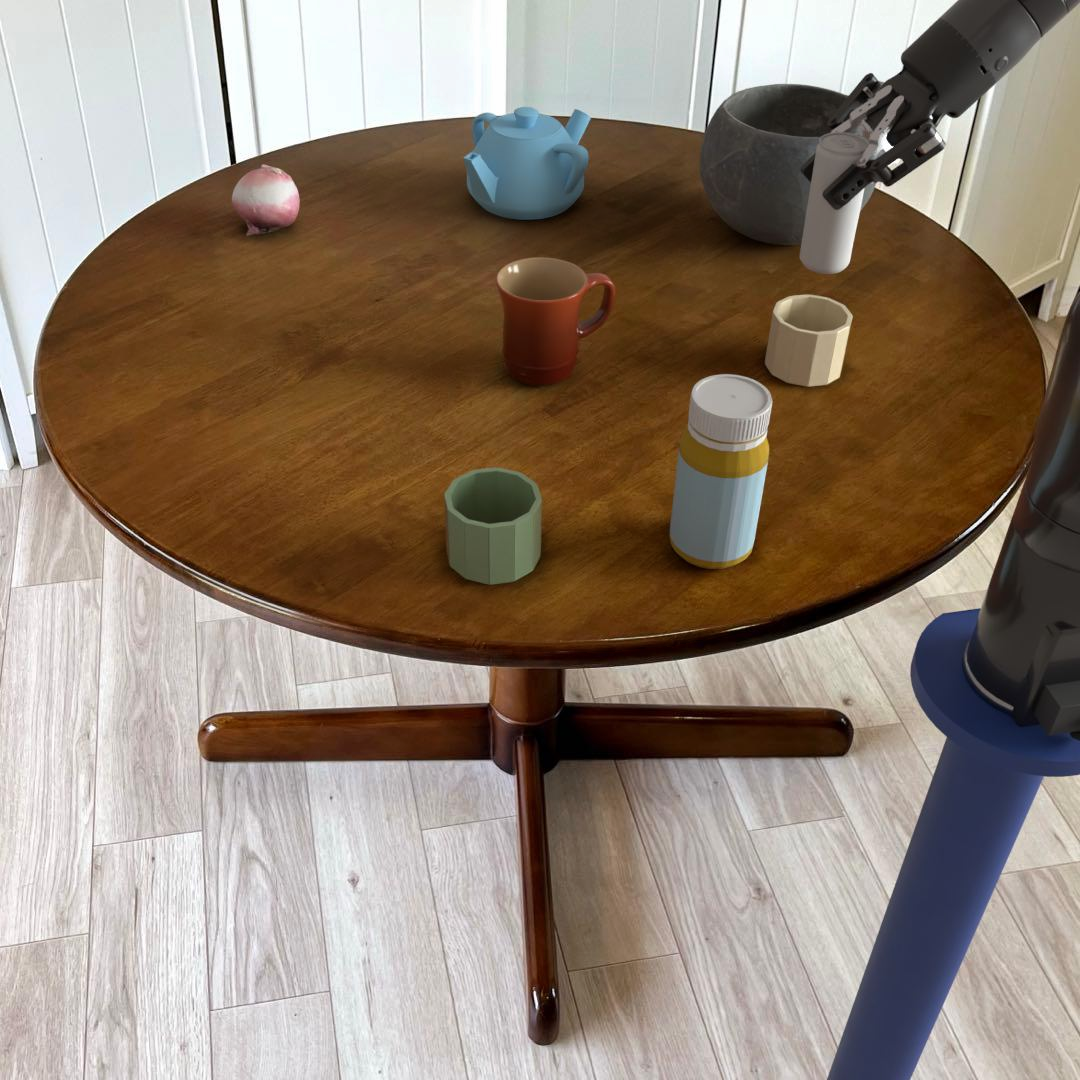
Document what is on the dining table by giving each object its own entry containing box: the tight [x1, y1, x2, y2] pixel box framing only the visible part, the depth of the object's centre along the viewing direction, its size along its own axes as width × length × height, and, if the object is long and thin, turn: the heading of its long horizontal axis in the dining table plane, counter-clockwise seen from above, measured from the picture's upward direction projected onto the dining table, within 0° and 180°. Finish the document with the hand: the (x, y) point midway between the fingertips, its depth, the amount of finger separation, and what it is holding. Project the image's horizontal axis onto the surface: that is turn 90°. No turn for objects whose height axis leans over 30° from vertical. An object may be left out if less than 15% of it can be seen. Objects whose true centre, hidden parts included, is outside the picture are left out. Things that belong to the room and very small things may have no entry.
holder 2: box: [764, 293, 854, 388], centre depth 123 cm, size 8×8×6 cm
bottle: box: [669, 373, 773, 570], centre depth 99 cm, size 7×7×15 cm
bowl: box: [699, 83, 881, 246], centre depth 143 cm, size 20×20×15 cm
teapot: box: [462, 106, 592, 221], centre depth 150 cm, size 15×17×11 cm
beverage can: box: [799, 132, 869, 275], centre depth 114 cm, size 5×5×12 cm
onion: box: [231, 163, 301, 237], centre depth 144 cm, size 8×8×7 cm
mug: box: [495, 256, 616, 387], centre depth 121 cm, size 12×9×10 cm
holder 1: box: [443, 466, 543, 586], centre depth 100 cm, size 8×8×6 cm
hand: (818, 189), depth 113 cm, fingers closed on beverage can, 5 cm apart
